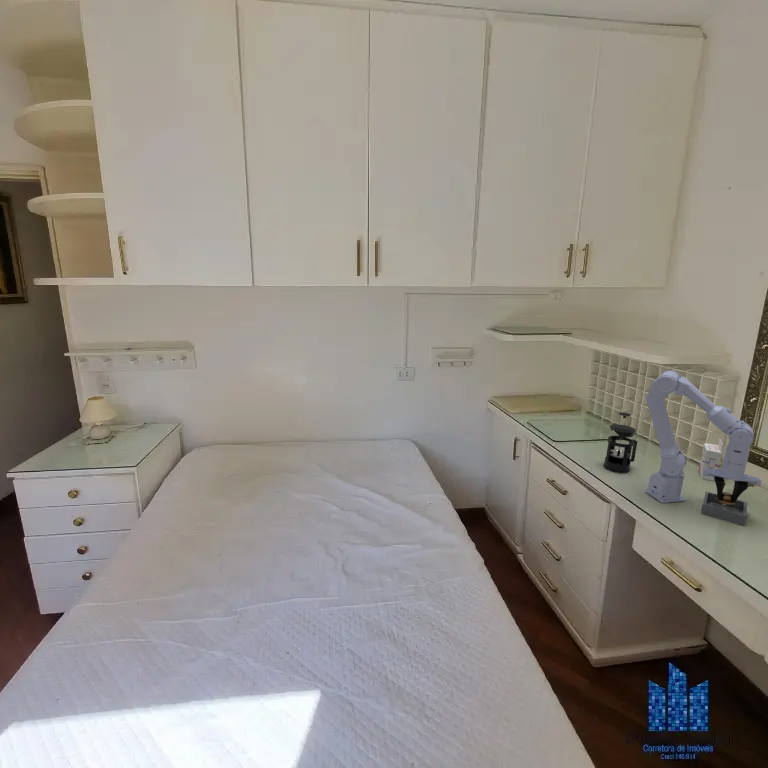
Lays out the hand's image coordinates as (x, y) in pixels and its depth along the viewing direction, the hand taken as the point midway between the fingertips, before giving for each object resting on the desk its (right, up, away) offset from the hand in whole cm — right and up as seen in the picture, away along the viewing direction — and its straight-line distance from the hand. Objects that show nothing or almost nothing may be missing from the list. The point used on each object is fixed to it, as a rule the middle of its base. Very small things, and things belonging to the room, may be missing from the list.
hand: (725, 500), depth 141 cm
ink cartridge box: (+14, +2, +27) cm, 30 cm away
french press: (-17, +4, +33) cm, 37 cm away
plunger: (0, -4, +1) cm, 5 cm away
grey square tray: (0, -4, +1) cm, 4 cm away
